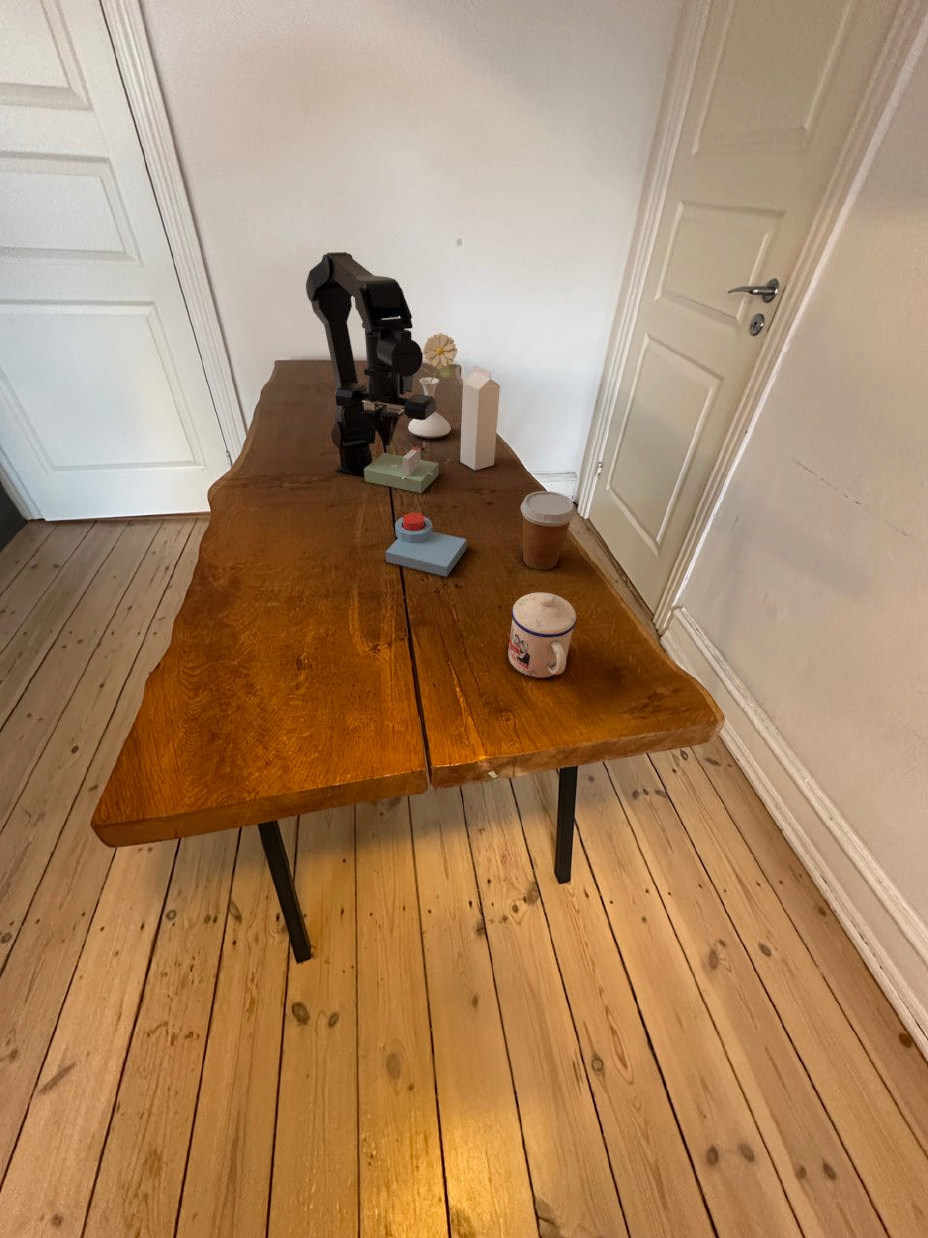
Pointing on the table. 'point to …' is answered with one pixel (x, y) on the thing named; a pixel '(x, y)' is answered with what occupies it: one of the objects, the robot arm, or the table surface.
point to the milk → (479, 419)
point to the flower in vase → (435, 384)
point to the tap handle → (411, 461)
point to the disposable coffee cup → (545, 527)
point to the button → (413, 522)
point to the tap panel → (400, 473)
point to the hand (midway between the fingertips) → (387, 444)
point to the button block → (425, 549)
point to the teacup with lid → (541, 634)
